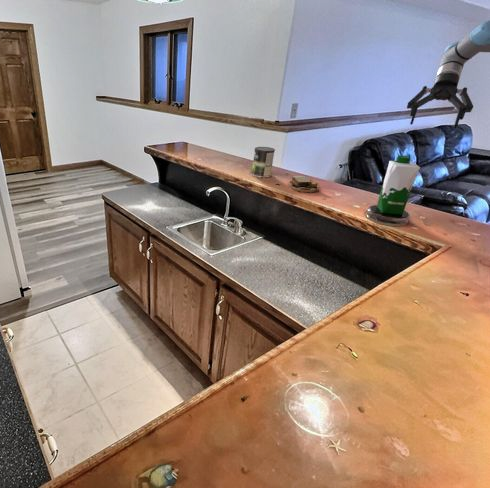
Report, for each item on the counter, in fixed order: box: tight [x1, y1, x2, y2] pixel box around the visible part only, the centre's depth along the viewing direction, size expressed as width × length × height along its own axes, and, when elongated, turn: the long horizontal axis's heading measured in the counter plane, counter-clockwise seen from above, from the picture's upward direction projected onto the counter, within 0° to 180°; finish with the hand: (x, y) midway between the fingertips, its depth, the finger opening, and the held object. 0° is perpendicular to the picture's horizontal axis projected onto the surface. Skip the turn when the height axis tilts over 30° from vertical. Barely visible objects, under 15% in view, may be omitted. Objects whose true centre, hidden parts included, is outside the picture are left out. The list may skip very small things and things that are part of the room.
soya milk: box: [376, 155, 421, 215], centre depth 128 cm, size 9×9×20 cm
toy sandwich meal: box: [289, 175, 319, 193], centre depth 167 cm, size 12×14×5 cm
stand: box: [365, 204, 411, 228], centre depth 134 cm, size 14×14×4 cm
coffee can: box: [251, 146, 276, 179], centre depth 185 cm, size 10×10×14 cm
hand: (433, 123), depth 130 cm, fingers open, 13 cm apart
